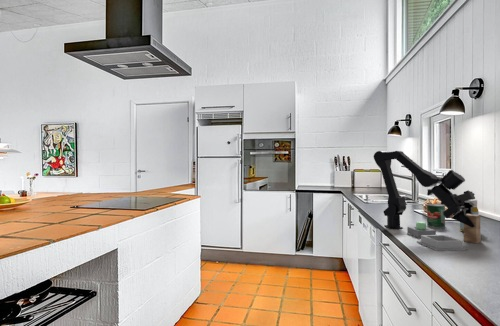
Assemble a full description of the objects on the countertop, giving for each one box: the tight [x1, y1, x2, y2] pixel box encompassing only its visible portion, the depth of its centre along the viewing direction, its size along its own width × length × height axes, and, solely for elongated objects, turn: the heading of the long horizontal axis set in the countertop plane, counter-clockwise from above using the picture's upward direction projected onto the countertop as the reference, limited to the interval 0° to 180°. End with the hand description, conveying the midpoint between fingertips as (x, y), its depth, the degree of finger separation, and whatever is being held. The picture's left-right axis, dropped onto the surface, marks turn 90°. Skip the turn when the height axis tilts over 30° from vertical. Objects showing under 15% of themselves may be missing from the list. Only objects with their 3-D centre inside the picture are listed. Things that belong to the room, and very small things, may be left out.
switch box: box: [406, 226, 437, 239], centre depth 136 cm, size 8×8×3 cm
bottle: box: [459, 199, 479, 233], centre depth 141 cm, size 7×7×15 cm
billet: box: [463, 214, 482, 244], centre depth 125 cm, size 4×4×11 cm
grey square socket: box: [416, 234, 468, 252], centre depth 119 cm, size 12×12×3 cm
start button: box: [415, 221, 427, 230], centre depth 136 cm, size 4×4×5 cm
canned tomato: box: [426, 203, 446, 229], centre depth 154 cm, size 8×8×11 cm
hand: (476, 226), depth 123 cm, fingers closed on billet, 4 cm apart
